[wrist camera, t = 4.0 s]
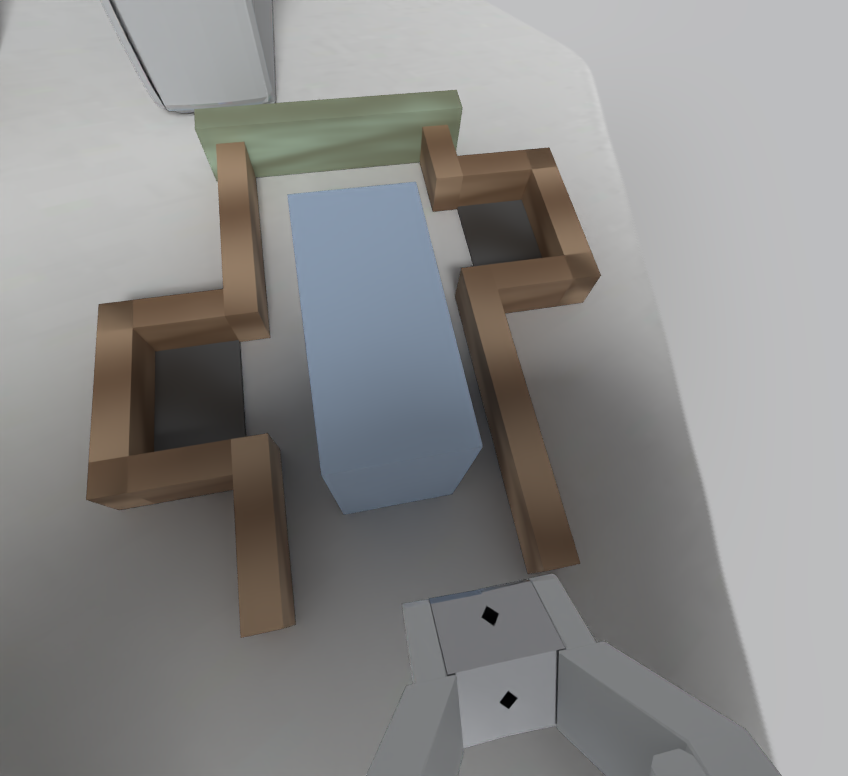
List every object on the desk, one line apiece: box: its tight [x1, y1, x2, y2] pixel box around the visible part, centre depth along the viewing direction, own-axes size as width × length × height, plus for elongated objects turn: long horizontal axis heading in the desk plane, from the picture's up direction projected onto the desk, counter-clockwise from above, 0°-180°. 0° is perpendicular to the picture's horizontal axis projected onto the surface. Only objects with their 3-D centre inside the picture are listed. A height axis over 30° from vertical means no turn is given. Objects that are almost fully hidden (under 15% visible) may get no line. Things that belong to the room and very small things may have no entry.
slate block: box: [288, 182, 483, 515], centre depth 20 cm, size 11×5×8 cm, turn 12°
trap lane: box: [86, 90, 601, 638], centre depth 24 cm, size 26×24×4 cm
